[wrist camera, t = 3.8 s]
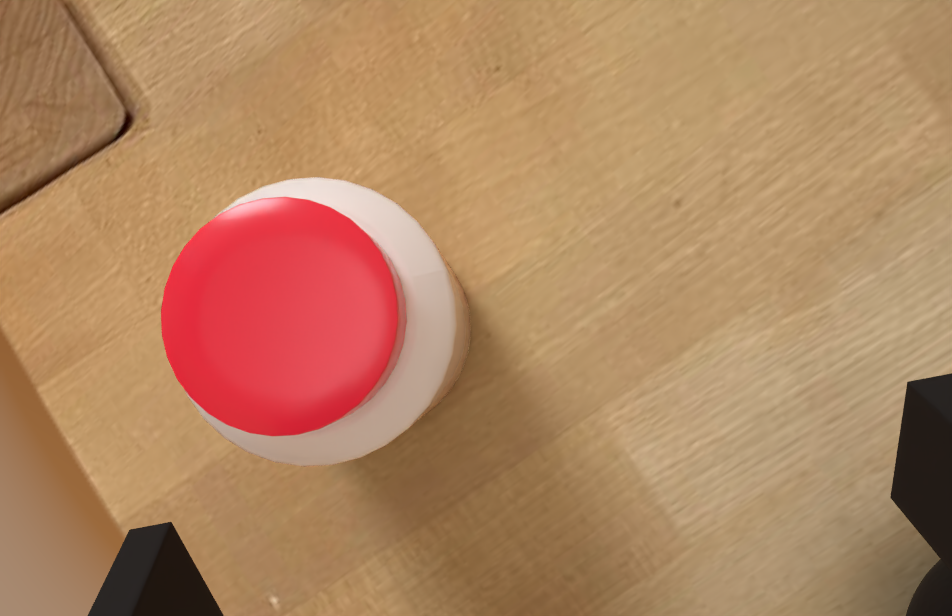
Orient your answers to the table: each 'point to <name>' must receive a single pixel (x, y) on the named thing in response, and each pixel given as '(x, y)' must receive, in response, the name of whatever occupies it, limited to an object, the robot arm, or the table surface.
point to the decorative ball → (933, 593)
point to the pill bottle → (314, 322)
